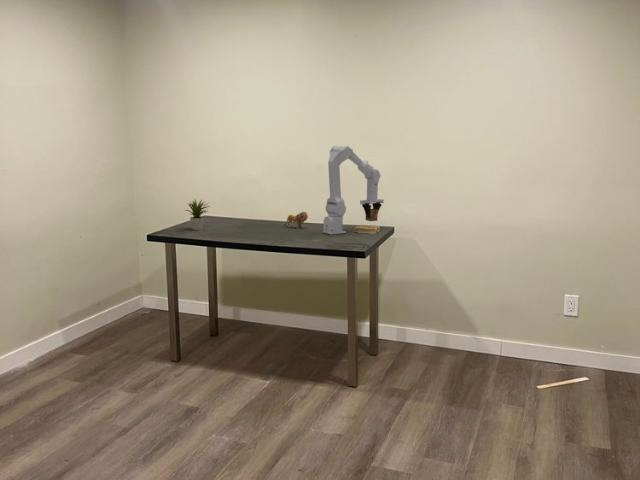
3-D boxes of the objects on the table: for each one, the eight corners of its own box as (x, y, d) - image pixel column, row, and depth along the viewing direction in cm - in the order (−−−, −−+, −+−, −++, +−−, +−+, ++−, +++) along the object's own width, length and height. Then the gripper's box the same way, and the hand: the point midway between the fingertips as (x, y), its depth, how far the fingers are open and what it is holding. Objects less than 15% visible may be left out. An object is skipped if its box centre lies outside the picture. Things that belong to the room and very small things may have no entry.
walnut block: (370, 221, 317) (371, 210, 316) (365, 220, 321) (365, 209, 320) (377, 220, 320) (377, 209, 319) (372, 219, 324) (372, 208, 323)
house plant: (204, 232, 305) (203, 200, 302) (179, 231, 308) (178, 199, 305) (215, 228, 319) (214, 197, 316) (190, 227, 321) (189, 196, 318)
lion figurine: (309, 228, 321) (309, 211, 319) (304, 229, 316) (304, 212, 314) (285, 225, 327) (285, 209, 326) (280, 227, 323) (280, 210, 321)
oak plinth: (375, 234, 303) (375, 229, 303) (354, 232, 307) (354, 227, 306) (380, 230, 313) (380, 225, 313) (360, 229, 317) (360, 224, 316)
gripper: (366, 193, 311) (365, 219, 313) (387, 191, 318) (386, 217, 321) (357, 191, 316) (357, 217, 319) (379, 190, 324) (378, 215, 327)
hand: (371, 217), depth 320 cm, fingers closed on walnut block, 4 cm apart
